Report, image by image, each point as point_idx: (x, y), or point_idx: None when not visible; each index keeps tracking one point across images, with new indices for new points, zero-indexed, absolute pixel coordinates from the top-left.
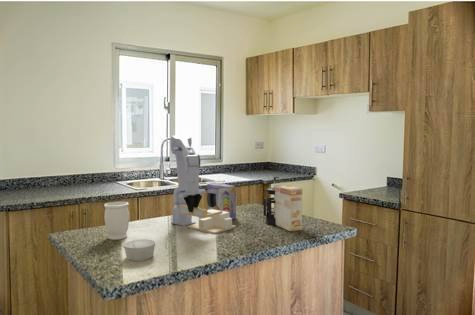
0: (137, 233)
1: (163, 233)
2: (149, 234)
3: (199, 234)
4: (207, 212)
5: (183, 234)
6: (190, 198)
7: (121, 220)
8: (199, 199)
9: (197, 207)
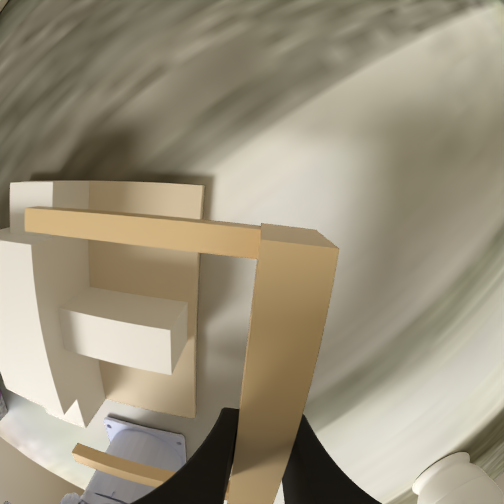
0: (384, 478)
1: (349, 429)
2: (383, 450)
3: None
4: (56, 381)
5: (321, 351)
6: None
7: (493, 489)
8: (185, 501)
9: (221, 431)
